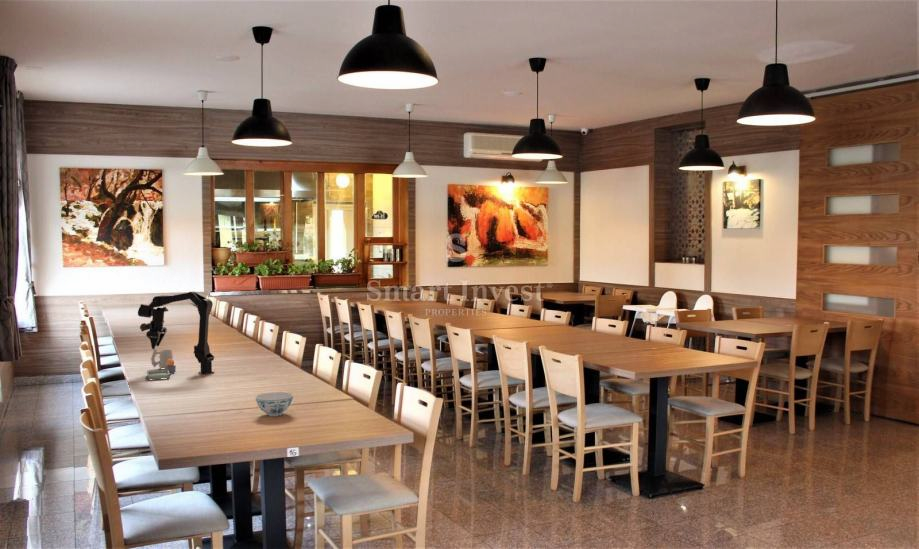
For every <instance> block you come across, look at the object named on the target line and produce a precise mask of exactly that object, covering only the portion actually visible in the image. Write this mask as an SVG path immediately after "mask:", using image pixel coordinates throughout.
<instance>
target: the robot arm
mask: <svg viewBox="0 0 919 549" xmlns="http://www.w3.org/2000/svg"><path fill="white" fill-rule="evenodd" d="M186 300H190V301H191V302H192V303H193V304H194V305H195V306H196V308H197V312H198V314H199V325H198V326H199V327H198V342H197V344H195V345H194V346H193V349H194V350H193V354H194V357H195V358H196V360H197V362H198V364H200V371H198V372H197V373H198V374H200V373H201V375H207V374H208V373H210V374H215V371H213V369H212V368H213V366H212V363H213V361H214V360H215V356H214V355H213V354H212V353H211V350H210V344H209V343H208V341H209V340H208V337H209V324H210V323H209V322H210V320H209V319H210V318H209V317H210V314H211V312H212V309H213V305H214V304H213V303H214V302H213V301H212V300H211V299H209V298H206V297H205V296H203V295H201V294H199V292H196V291H193V290H192V291H189V292H185V293H179V294H174V295H164V294H163V295H155V296H154V297H153V298H152V300H151V302H150V303H149V304H145V303H141V304H140V306H139V307H138V310H137V316H138V317H141V318H149V319H150V318H151V319H152V320H150V322H148V323H145V322H144V323H141V325H139V330H140V331H141V332H144V331H146V332H145V333H146V334H145V335H146V336H145V337H146V338H148V339H149V341H150V346H151V349H152V350H154V348H156V347H159V346H160V344H161V343H162V341H163V339H164V337H165V336H166V335H167V334H166V333H168V332H167V330H168V329H167V327H166V326H165V327H164V323H165V313H166V312H169V309H168V308H167V307H166V306H167V305H169V304H172V303H176V302H182V301H186Z"/></svg>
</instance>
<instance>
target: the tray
mask: <svg viewBox="0 0 919 549" xmlns="http://www.w3.org/2000/svg"><path fill="white" fill-rule="evenodd" d="M146 377H147V378H148V379H147V381H148V380H149V381H151V380H150V379H161V378H170V379H171V374H170V373H169V370H165V369H160V370H148V371H147V372H146Z"/></svg>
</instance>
